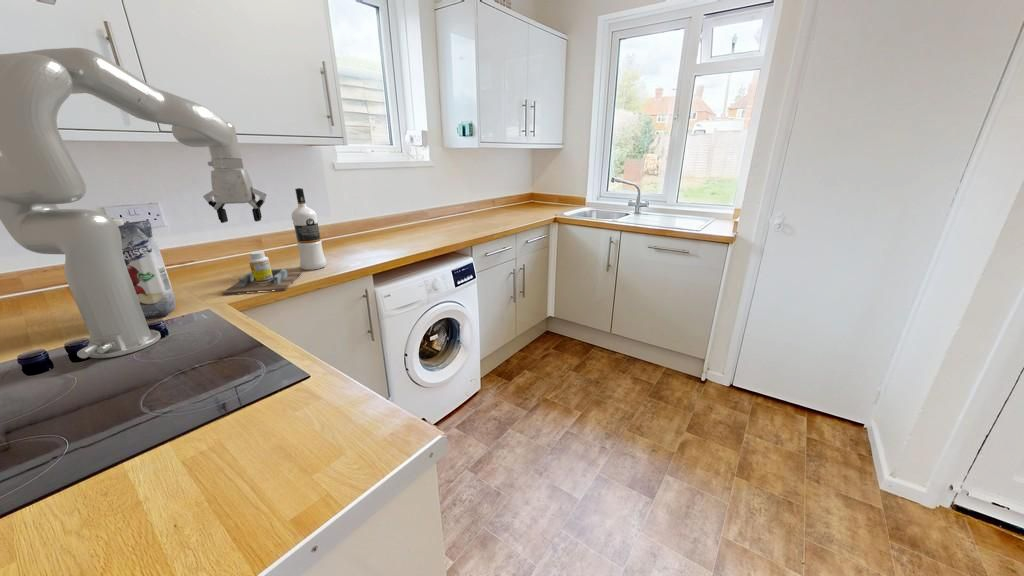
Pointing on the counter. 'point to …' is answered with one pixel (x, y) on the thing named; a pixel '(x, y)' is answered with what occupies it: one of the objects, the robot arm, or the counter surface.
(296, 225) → the vodka
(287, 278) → the u rest
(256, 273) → the supplement bottle
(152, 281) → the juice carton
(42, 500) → the counter surface
